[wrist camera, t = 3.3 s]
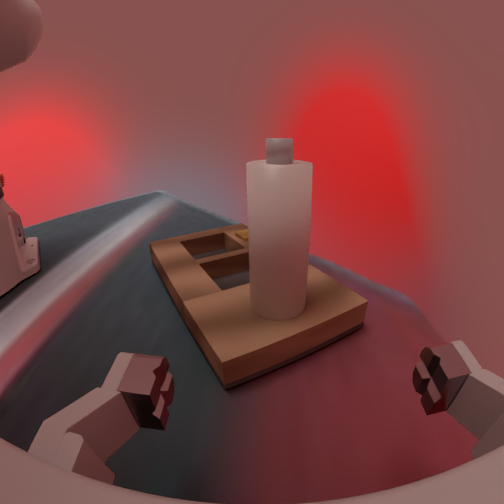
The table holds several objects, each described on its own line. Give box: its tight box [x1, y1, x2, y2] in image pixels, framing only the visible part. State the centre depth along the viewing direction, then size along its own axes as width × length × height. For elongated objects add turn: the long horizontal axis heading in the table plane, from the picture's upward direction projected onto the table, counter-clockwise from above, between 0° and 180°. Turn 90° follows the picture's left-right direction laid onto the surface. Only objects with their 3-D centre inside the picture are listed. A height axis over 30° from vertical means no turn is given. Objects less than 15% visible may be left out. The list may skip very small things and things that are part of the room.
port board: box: [149, 224, 368, 389], centre depth 28 cm, size 21×12×3 cm, turn 29°
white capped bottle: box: [246, 138, 313, 320], centre depth 19 cm, size 4×4×12 cm
